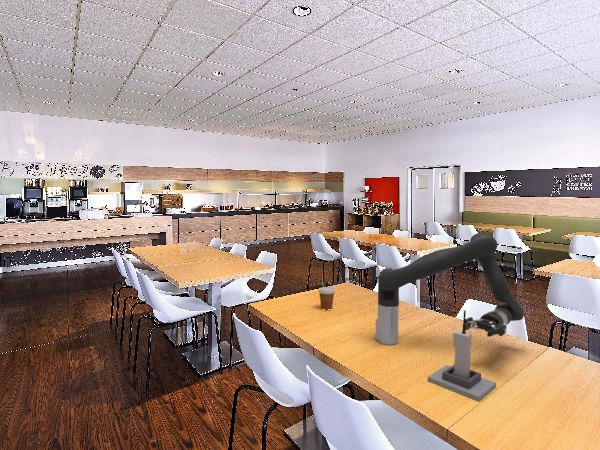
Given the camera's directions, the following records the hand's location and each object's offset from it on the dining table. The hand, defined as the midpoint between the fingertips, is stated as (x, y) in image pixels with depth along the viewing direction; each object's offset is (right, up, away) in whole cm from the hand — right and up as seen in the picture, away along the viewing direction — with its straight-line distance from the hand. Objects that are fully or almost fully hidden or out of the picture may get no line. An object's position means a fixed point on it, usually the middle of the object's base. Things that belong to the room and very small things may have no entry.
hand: (476, 330), depth 137 cm
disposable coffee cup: (-50, -10, +80) cm, 95 cm away
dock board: (-8, -17, -6) cm, 20 cm away
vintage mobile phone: (-8, -16, -6) cm, 19 cm away
